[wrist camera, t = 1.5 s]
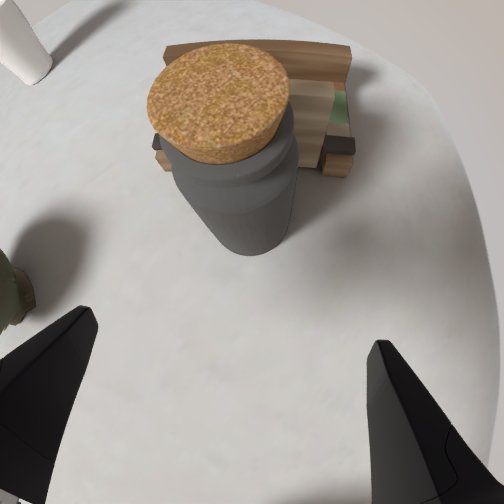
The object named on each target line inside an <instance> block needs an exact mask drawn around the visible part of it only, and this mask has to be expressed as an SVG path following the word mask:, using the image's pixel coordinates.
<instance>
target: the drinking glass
mask: <svg viewBox="0 0 504 504" xmlns="http://www.w3.org/2000/svg"><path fill="white" fill-rule="evenodd" d="M0 62H1V63H2V64H3V65H4V66H6V67H7V68H8V69H9V70H11V71H12V72H13V73H14V74H16V75H17V76H18V77H19V78H20V79H21V80H22V81H23V82H24V83H25V84H27V85H33V84H35V83H37V82H39V81H40V80H41V79H42V78H43V77H44V76H45V75H46V74H47V73H48V72H49V70H50V69H51V67H52V64H53V60H52V58H51V56H50V55H49V54H48V53H47V51H46V50H45V48H44V47H43V45H42V44H41V42H40V41H39V39H38V37H37V36H36V34H35V33H34V31H33V29H32V28H31V26H30V24H29V23H28V21H27V19H26V18H25V16H24V15H23V13H22V12H21V10H20V9H19V7H18V6H17V5H16V4H15V2H14V1H13V0H0Z"/></svg>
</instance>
